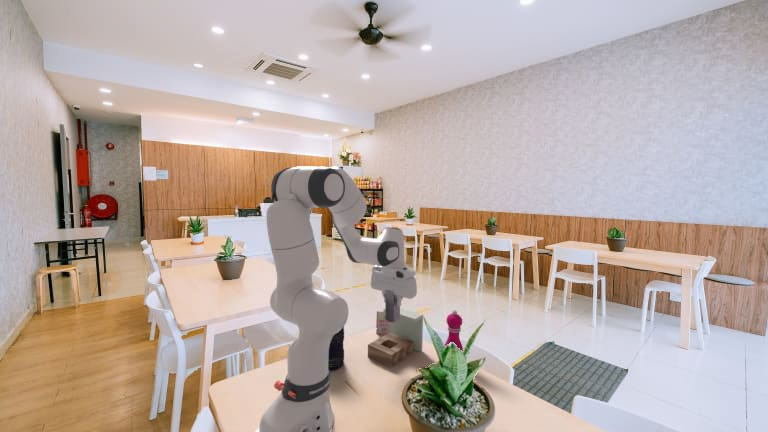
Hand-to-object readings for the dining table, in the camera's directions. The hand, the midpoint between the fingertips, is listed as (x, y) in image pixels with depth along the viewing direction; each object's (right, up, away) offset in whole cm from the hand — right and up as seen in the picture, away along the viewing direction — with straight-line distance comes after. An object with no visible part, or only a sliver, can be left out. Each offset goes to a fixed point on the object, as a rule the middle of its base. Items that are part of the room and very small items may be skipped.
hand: (392, 304), depth 120 cm
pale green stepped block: (+4, -22, +11) cm, 25 cm away
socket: (-1, -22, +5) cm, 22 cm away
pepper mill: (+24, -23, +2) cm, 33 cm away
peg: (0, -6, +1) cm, 6 cm away
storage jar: (-23, -22, -2) cm, 32 cm away
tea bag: (-3, -21, +25) cm, 33 cm away
